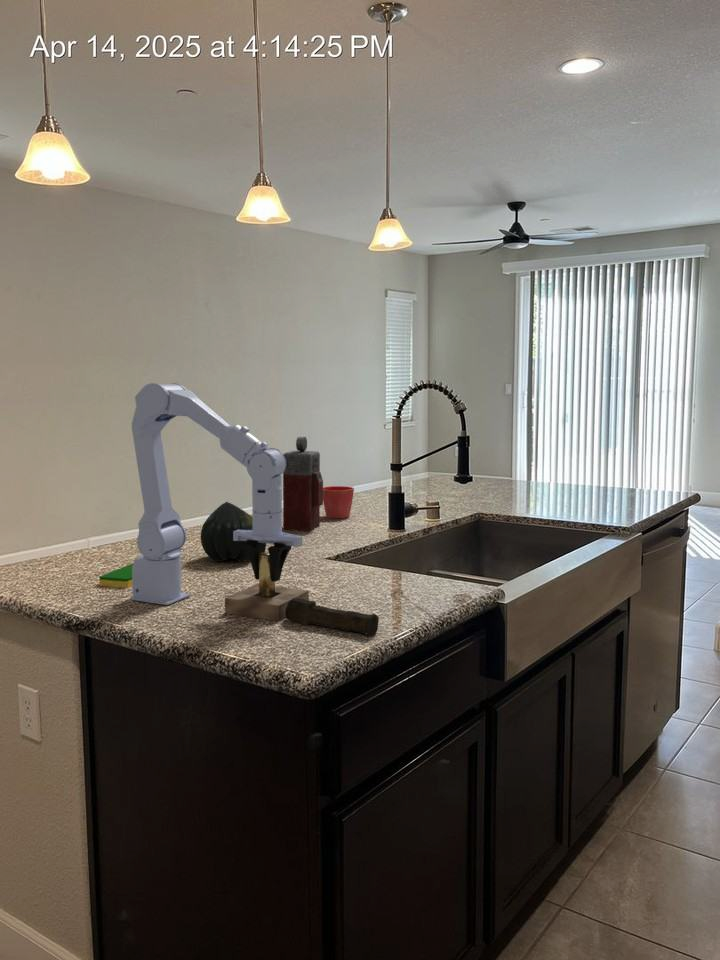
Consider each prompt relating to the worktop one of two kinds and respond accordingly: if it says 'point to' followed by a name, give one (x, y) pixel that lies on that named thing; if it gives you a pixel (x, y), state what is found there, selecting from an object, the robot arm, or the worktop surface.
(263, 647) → the worktop surface
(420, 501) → the worktop surface
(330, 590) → the worktop surface
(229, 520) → the squash
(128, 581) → the dish sponge
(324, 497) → the flower pot
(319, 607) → the hand tool
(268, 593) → the brass peg
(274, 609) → the socket block
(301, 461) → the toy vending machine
